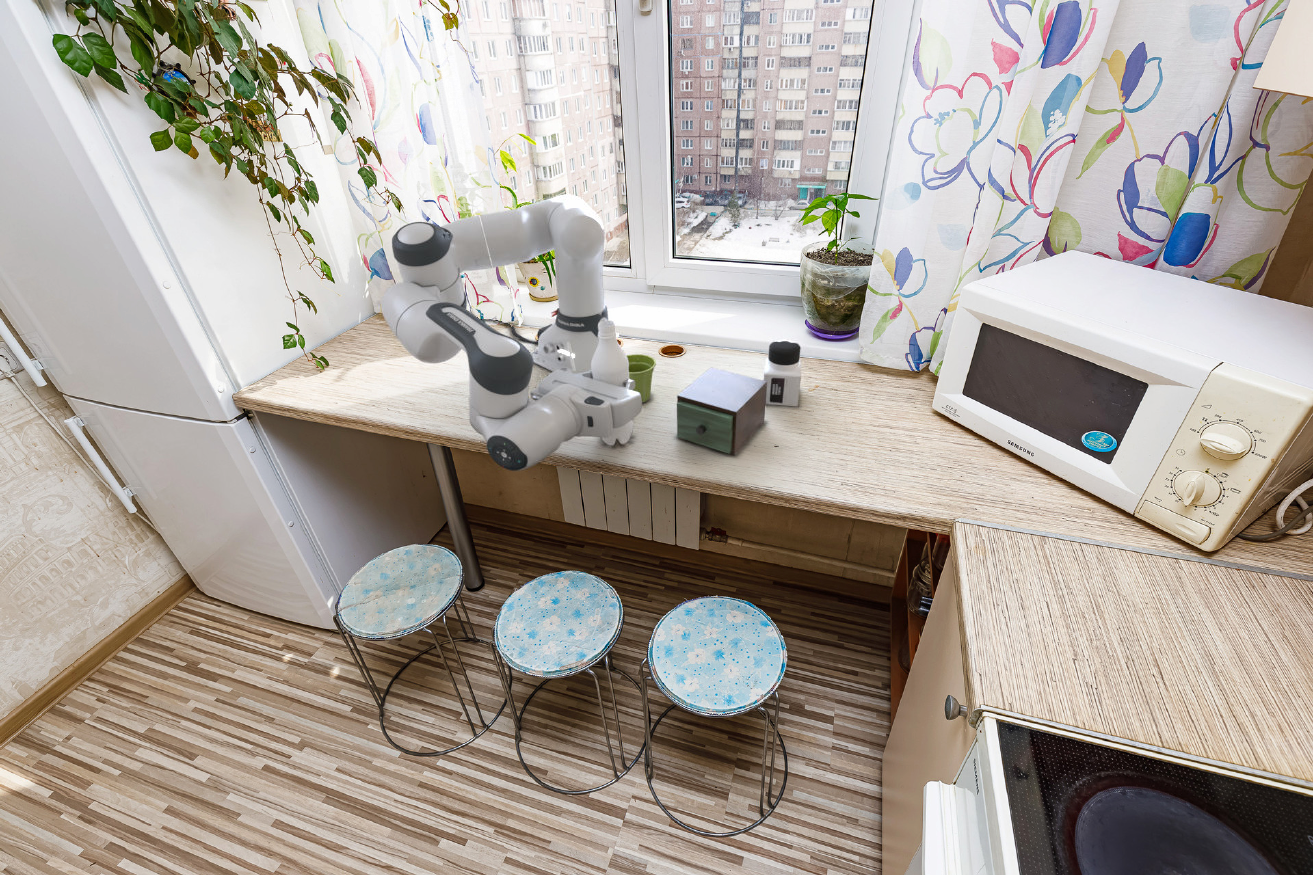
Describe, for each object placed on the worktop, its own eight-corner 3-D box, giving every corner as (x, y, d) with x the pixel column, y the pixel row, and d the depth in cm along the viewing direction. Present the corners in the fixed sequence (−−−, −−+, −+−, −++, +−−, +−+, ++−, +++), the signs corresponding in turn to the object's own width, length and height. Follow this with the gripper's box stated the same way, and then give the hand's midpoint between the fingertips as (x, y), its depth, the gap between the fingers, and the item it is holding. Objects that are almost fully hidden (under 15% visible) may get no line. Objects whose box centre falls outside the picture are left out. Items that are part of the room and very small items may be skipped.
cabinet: (734, 455, 116) (736, 412, 111) (677, 437, 122) (677, 395, 117) (764, 422, 126) (767, 381, 120) (710, 407, 132) (711, 367, 126)
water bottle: (617, 425, 127) (608, 313, 113) (641, 438, 122) (634, 322, 108) (591, 439, 122) (578, 324, 109) (614, 453, 118) (604, 335, 104)
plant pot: (607, 399, 136) (604, 364, 131) (636, 383, 142) (634, 350, 137) (636, 412, 131) (634, 377, 126) (665, 396, 136) (664, 361, 132)
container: (797, 407, 130) (803, 352, 123) (761, 404, 132) (765, 350, 125) (797, 390, 137) (803, 337, 130) (763, 387, 138) (767, 335, 131)
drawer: (726, 457, 114) (727, 421, 110) (674, 440, 120) (673, 405, 115) (757, 423, 124) (759, 389, 119) (707, 409, 129) (707, 376, 125)
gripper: (527, 410, 113) (574, 380, 122) (615, 440, 103) (658, 405, 113) (521, 380, 109) (570, 351, 119) (612, 409, 100) (657, 375, 109)
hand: (614, 377), depth 116 cm, fingers closed on water bottle, 7 cm apart
